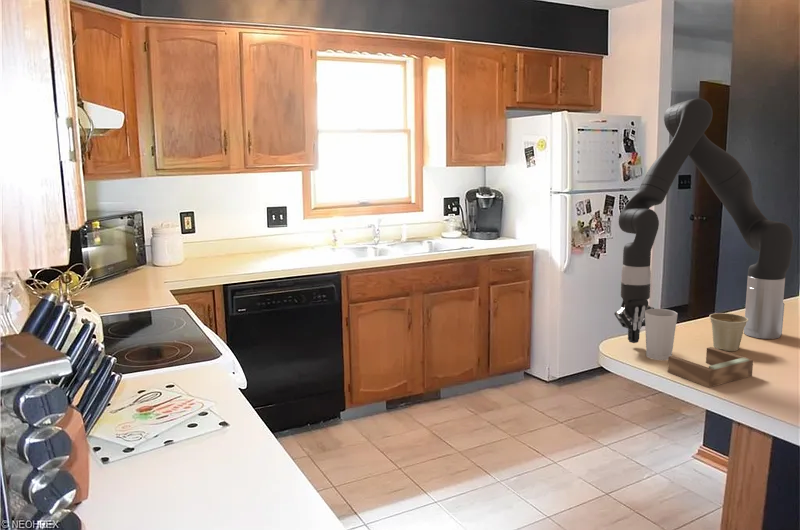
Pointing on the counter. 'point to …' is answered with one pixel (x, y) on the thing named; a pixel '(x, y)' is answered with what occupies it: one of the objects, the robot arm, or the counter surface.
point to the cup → (660, 333)
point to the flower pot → (727, 330)
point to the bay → (712, 368)
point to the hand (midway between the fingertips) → (633, 342)
